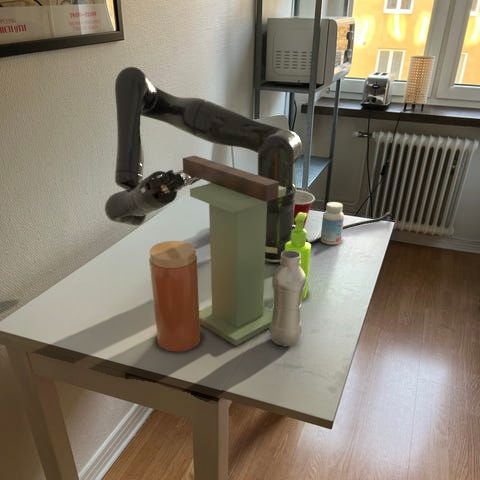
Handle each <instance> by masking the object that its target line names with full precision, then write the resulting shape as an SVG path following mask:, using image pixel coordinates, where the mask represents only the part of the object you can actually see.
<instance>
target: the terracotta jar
mask: <svg viewBox="0 0 480 480" xmlns="http://www.w3.org/2000/svg"><path fill="white" fill-rule="evenodd" d="M196 251H197V250H196V246H195V245H194V244H191V243H190V242H187V241H183V240H167V241H161V242H159V243H156V244H154V245H153V246H152V247H151V248H150V249H149V259H148V260H149V269H150V271H149V272H150V279H151V290H152V299H153V308H154V319H155V330H156V338H157V343H158V345H159V346H160V347H161V348H162V349H164V350H166V351H170V352H186V351H188V350H191V349H194V348H195V347H196V346H197V345H199V344H200V342H201V324H200V315H199V311H200V299H199V298H200V297H199V295H200V294H199V273H198V272H199V271H198V256H197V253H196Z"/></svg>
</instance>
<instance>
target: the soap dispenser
mask: <svg viewBox="0 0 480 480" xmlns="http://www.w3.org/2000/svg"><path fill="white" fill-rule="evenodd" d="M307 215H308V216H309V213H302V212H299V213H298V214H297V216H296V218H295V222H296V228H295V229H293V230H292V233H291V241H289V242H287V243H286V244H285V251H287V250H293V251H297V252H299V253H300V255H301V258H300V260H301V264H300V265H299V266H300V267H301V269H302V270H303V272H304V273H305V276H306V285H305V289H304V292H303V296H302V301H303V300H304V299H306V298H307V293H308V282H309V270H310V261H311V249H312V244H309V243H307V242H306V238H307V232H308V231H307V230H306V229H305V228H304V229H303V224H304V220H305V218H306V216H307Z"/></svg>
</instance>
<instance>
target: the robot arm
mask: <svg viewBox="0 0 480 480" xmlns="http://www.w3.org/2000/svg"><path fill="white" fill-rule="evenodd" d="M114 93H115V94H114V95H115V107H116V125H117V126H116V127H117V130H116V131H117V132H116V133H117V140H116V141H117V142H116V143H117V144H116V145H117V146H116V160H115V171H114V173H115V174H114V181H115V185H117V187H119V188H121V189H123V190H122V191H117V192H114V193H113V194H111V195H110V196H109V197H108V198H107V199H106V201H105V204H104V213H105V215H106V217H107V218H108V220H110V221H111V222H115V223H120V224H125V225H129V226H136V227H139V226H141V225H142V224H143V223H144V222H145V221H146V218H147V215H149V214H150V213H152V212H154V211H158V210H160V209H162V208H164V207H165V206H168V205H169V204H171V203H173V202H174V201H175V199H176V198H177V196H178V192H179V191H180V190H182V189H183V188H185V187H187V186H192V185H193V184H195V183H197V182H199V181H200V180H201V179H200V178H197V177H194V176H191V175H188V174H186V173H183V169H181V170H178V171H176V172H174V170H173V169H170V170H167V171H163V170H158V171H154V172H153V173H151V174H149V175H148V176H147V177H146V178H144V179H143V176H144V167H145V166H144V164H145V155H144V154H145V153H144V147H143V146H144V145H143V139H142V138H143V137H142V131H141V129H142V127H141V116H142V117H145V118H149V119H153V120H156V121H159V122H163V123H166V124H168V125H171V126H172V127H174V128H176V129H178V130H180V131H183V132H185V133H187V134H189V135H191V136H193V137H196V138H198V139H200V140H204V141H205V142H208V143H211V144H215V145H220V146H226V147H234V148H242V149H246V150H250V151H252V152H255V153H256V154H257V175H258V176H262V177H265V178H268V179H271V180H274V181H278V182H279V186H281V187H284V188H286V195H285V196H282V197H279V198H277V199H274V200H271V201H267V216H266V242H265V263H268V264H280V259H281V253H282V252H283V251H285V244H286V243H287V242H289V241H291V233H292V230H293V229H295V228H296V226H295V225H294V224H293V221H294V206H295V193H296V190H297V189H296V186H295V184H294V181H293V179H294V165H295V164H296V163H297V162H299V160H300V158H301V157H302V155H303V144H302V141H301V139H300V137H299V136H298V134H296V133H295V132H293V131H292V130H289V129H286V128H282V127H278V126H274V125H271V124H268V123H267V124H266V123H263V122H260V121H257V120H254V119H252V118H249V117H248V116H246V115H244V114H241V113H238V112H236V111H234V110H231V109H229V108H226V107H224V106H222V105H220V104H217V103H214V102H213V101H210V100H207V99H204V98H201V97H180V96H177V95H176V96H175V95H173V94H171V93H168V92H166V91H164V90H163V89H160V88H159V87H157V86H156V85H154V84H153V82H152V81H151V80H150V78H149V77H148V76H147V75H146V74H145V72H144V71H143V70H141V69H140V68H139V67H135V66H127V67H125V68H123V69H122V70H121V71H119V73H118V74H117V76H116V78H115V82H114ZM182 174H184V177H183V175H182ZM387 217H390V218H391V217H393V216H392V214H391V213H390V212H386V213H384V215H383V216H381V217H379V218H374V219H369V220H363V221H358V222H354V223H350V224H346V225H343V229H342V231H343V230H347V229H350V228H354V227H358V226H363V225H369V224H373V223H379V222H381V221H383V220H385V219H386V218H387ZM306 242H307V243H309V244H310V245H313V244H316V243H319V242H321V236H319V237H318V238H315V239H313V240H309V239H308V238H307V237H306Z"/></svg>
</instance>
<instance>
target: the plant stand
mask: <svg viewBox="0 0 480 480" xmlns="http://www.w3.org/2000/svg"><path fill="white" fill-rule="evenodd" d="M285 195H286V188H284V187H281V186H279V190H278V198H279V197H282V196H285ZM189 197H191V198H193V199H196V200H198V201H201V202H203V203H206V204H208V211H209V212H208V215H209V248H210V249H209V251H210V280H211V281H210V283H211V285H210V286H211V287H210V288H211V305H208V306H207V307H204V308H202V309H199V315H200V325H202V326H204V327H205V328H207V329H208V330H210V331H211V332H213V333H215V334H216V335H218V336H219V337H221V338H222V339H223V340H225V341H227V342H229V343H230V344H232V345H233V346H238V345H241V344H242V343H243V342H245V341H247V340H250V339H251V338H253V337H255V336H257V335H258V334H260V333H262V332H264V331H266V330H269V328H270V323H271V320H272V315H273V310H272V309H270V308H269V307H267V306H265V305H264V289H265V265H266V262H265V242H266V216H267V202H265V201H262V200H259V199H256V198H253V197H251V196H248V195H245V194H242V193H239V192H236V191H234V190H231V189H228V188H225V187H222V186H219V185H217V184H214V183H211V182H208V183H206V184H202V185H197V186H195V187H191V188H189Z"/></svg>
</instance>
